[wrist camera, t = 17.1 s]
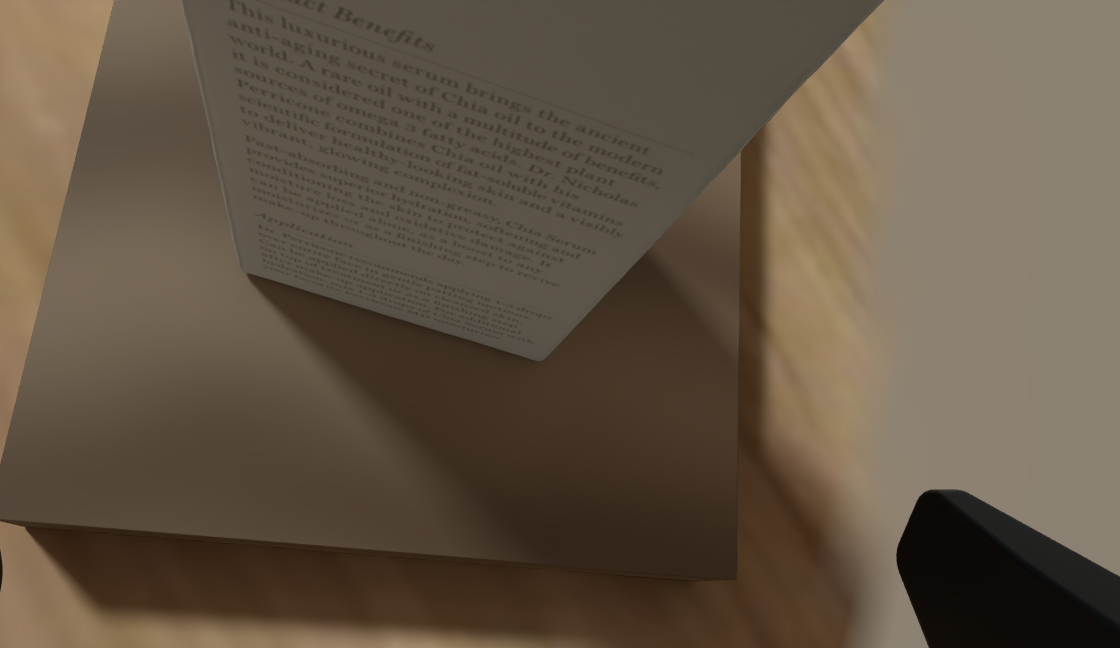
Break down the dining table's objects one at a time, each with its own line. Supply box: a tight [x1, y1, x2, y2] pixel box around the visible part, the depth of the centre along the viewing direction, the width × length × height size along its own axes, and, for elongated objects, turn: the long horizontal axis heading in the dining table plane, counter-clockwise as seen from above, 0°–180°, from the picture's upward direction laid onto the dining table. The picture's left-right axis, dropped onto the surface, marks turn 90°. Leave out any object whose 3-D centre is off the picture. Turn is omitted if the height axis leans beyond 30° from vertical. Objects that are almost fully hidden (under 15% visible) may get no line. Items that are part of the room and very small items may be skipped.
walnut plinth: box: [0, 0, 741, 581], centre depth 19 cm, size 13×13×2 cm
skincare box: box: [181, 0, 884, 361], centre depth 13 cm, size 6×4×12 cm
